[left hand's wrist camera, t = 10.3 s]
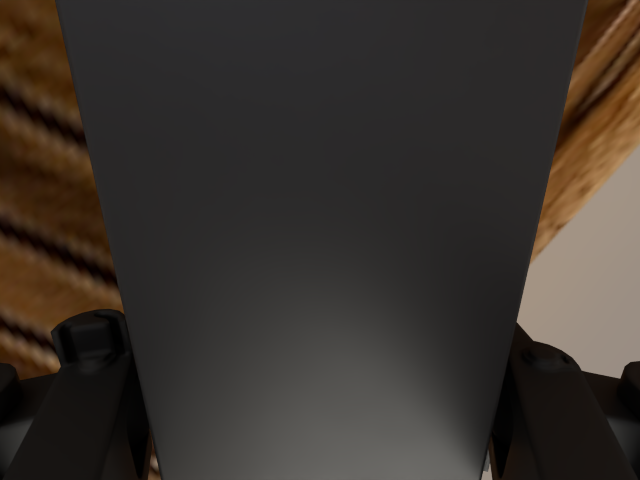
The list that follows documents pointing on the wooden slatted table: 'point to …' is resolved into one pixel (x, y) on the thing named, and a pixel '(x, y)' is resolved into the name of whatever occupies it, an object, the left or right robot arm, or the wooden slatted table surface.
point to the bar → (321, 219)
